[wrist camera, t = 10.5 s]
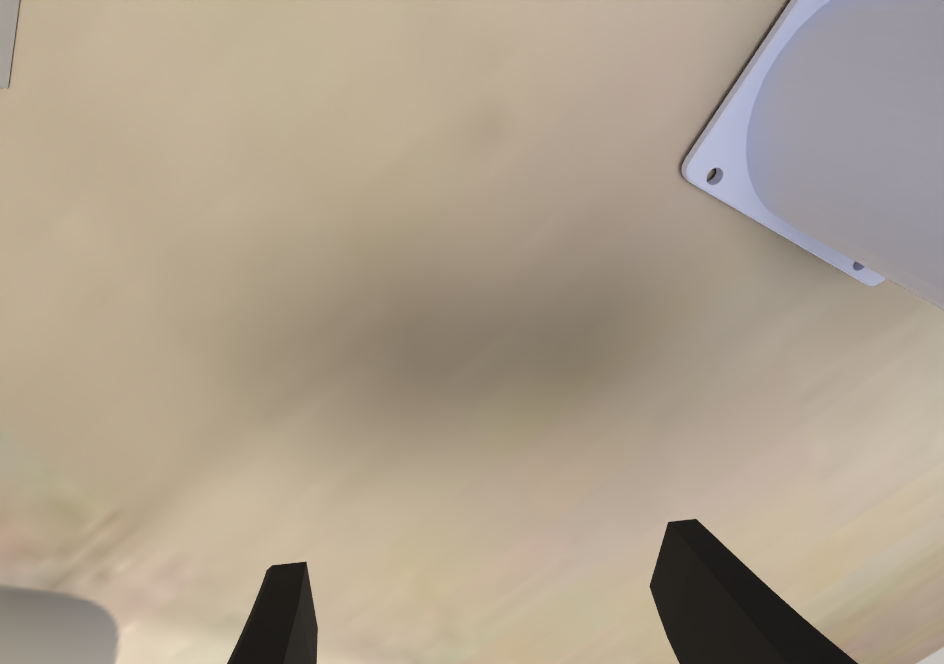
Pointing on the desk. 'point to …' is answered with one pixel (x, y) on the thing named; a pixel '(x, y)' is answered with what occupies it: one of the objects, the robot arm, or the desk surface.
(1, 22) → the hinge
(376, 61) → the desk surface
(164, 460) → the desk surface
